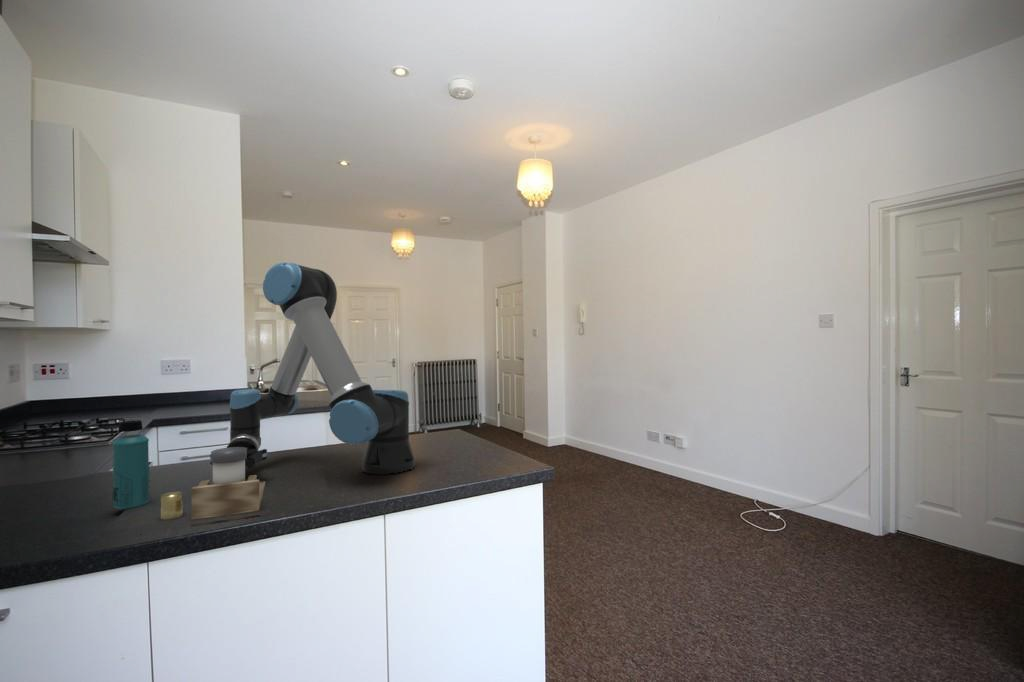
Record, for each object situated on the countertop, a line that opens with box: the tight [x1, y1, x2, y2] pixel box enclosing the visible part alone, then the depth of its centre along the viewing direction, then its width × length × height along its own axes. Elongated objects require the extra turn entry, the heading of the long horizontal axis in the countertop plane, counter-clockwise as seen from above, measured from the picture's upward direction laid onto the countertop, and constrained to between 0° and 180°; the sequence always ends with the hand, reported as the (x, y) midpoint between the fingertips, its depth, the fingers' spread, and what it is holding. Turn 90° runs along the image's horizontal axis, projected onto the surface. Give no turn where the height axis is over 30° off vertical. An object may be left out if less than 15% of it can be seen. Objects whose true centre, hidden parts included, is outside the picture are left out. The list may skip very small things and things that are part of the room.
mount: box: [190, 474, 266, 528], centre depth 108 cm, size 12×24×8 cm, turn 24°
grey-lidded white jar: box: [210, 447, 247, 485], centre depth 102 cm, size 7×7×12 cm
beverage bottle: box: [111, 419, 151, 510], centre depth 104 cm, size 6×7×20 cm
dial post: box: [160, 491, 183, 520], centre depth 97 cm, size 4×4×6 cm
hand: (232, 471), depth 106 cm, fingers closed
